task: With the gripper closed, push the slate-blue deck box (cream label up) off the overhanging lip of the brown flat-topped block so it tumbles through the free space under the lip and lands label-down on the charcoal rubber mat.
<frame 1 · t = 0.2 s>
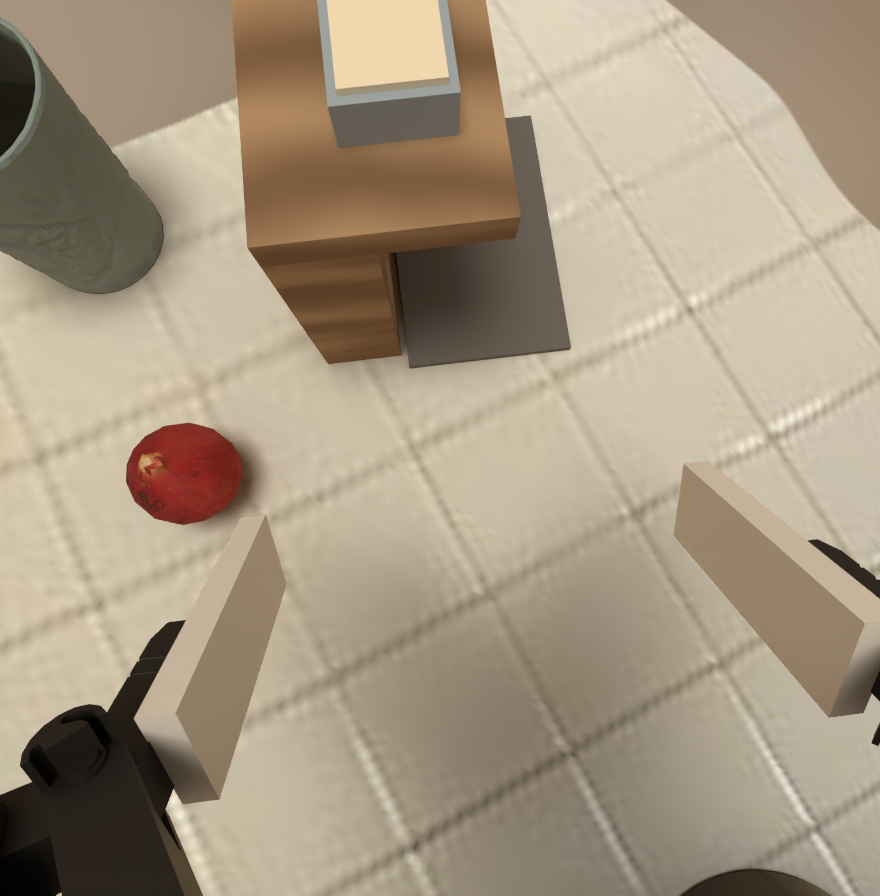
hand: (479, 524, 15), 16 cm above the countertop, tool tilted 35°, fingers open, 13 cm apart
mat: (472, 238, 35), on the countertop
deck box: (388, 58, 21), point 14 cm above the countertop, touching brown flat-topped block
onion: (217, 479, 32), on the countertop
grey-green tapered bin: (107, 243, 35), on the countertop
brown flat-topped block: (395, 247, 35), on the countertop
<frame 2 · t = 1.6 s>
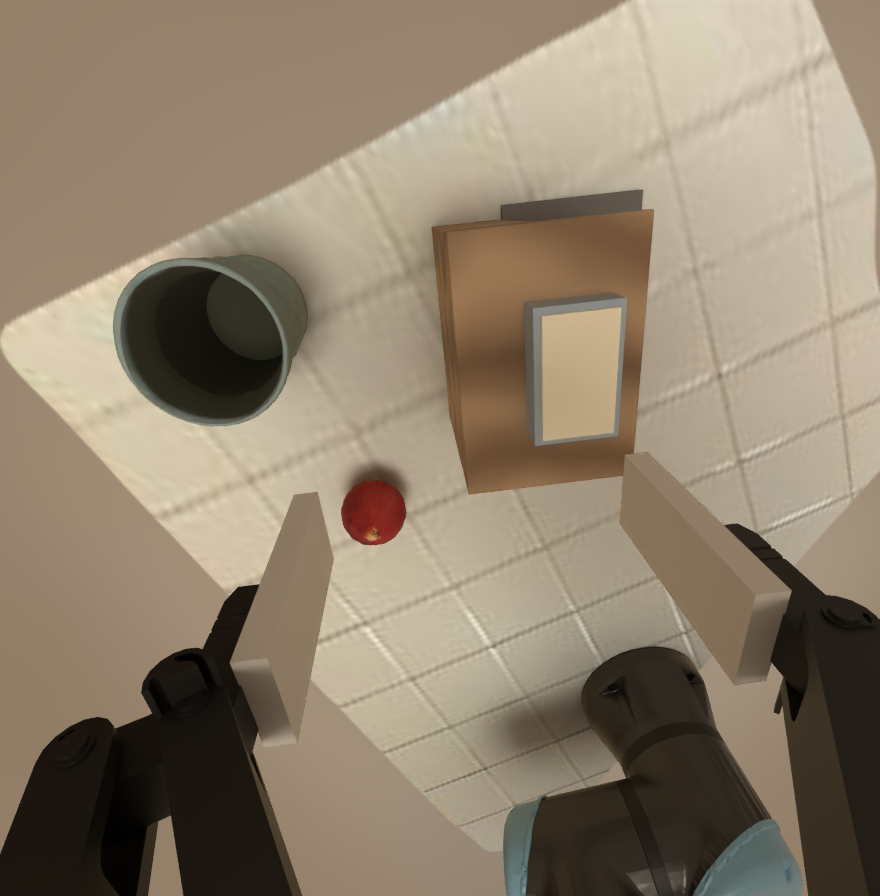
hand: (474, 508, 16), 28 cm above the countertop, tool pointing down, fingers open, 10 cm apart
mat: (569, 315, 42), on the countertop
deck box: (567, 366, 29), point 14 cm above the countertop, touching brown flat-topped block
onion: (375, 490, 48), on the countertop
grey-green tapered bin: (257, 313, 40), on the countertop
brown flat-topped block: (505, 322, 42), on the countertop
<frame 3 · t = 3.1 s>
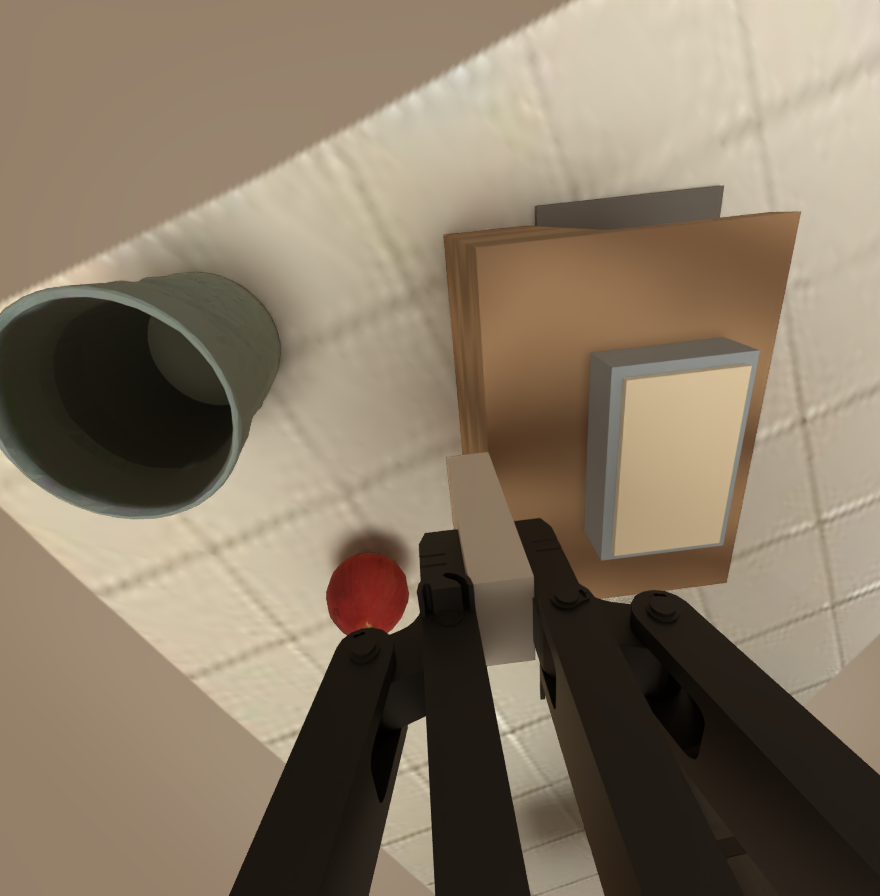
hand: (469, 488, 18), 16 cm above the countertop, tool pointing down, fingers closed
mat: (618, 347, 32), on the countertop
deck box: (648, 442, 20), point 14 cm above the countertop, touching brown flat-topped block
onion: (370, 559, 39), on the countertop
grey-green tapered bin: (215, 346, 31), on the countertop
brown flat-topped block: (537, 356, 32), on the countertop
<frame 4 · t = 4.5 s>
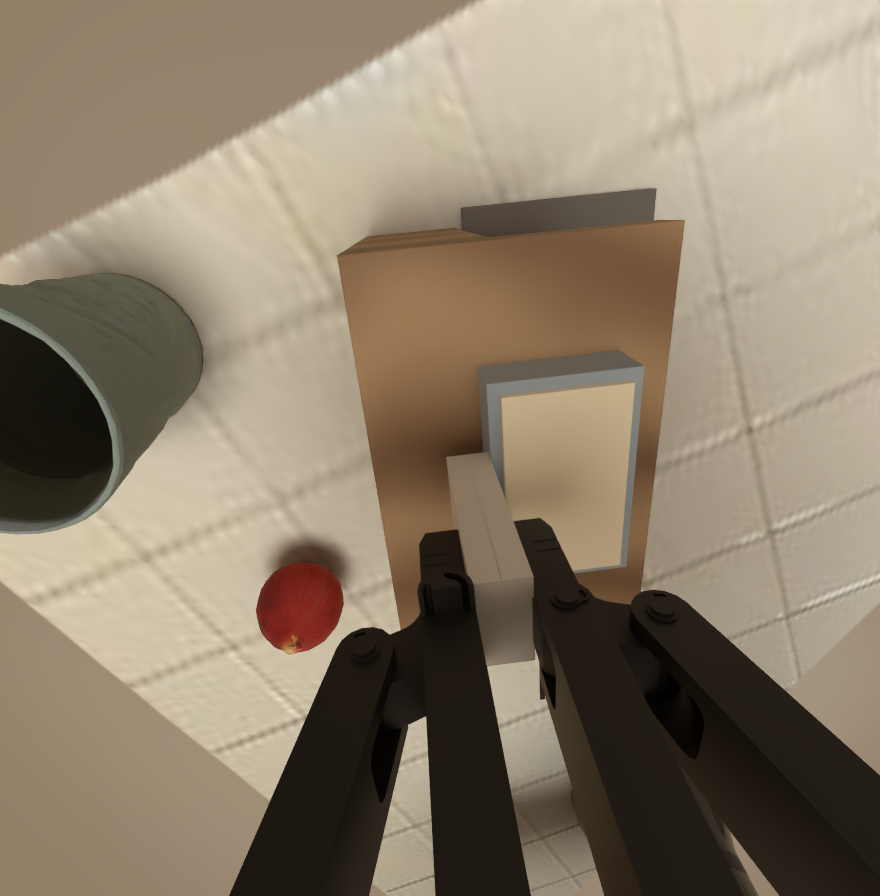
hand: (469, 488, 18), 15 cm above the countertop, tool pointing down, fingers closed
mat: (555, 353, 31), on the countertop
deck box: (548, 459, 19), point 14 cm above the countertop, touching gripper, brown flat-topped block
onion: (310, 568, 38), on the countertop
grey-green tapered bin: (134, 350, 30), on the countertop
brown flat-topped block: (471, 363, 31), on the countertop
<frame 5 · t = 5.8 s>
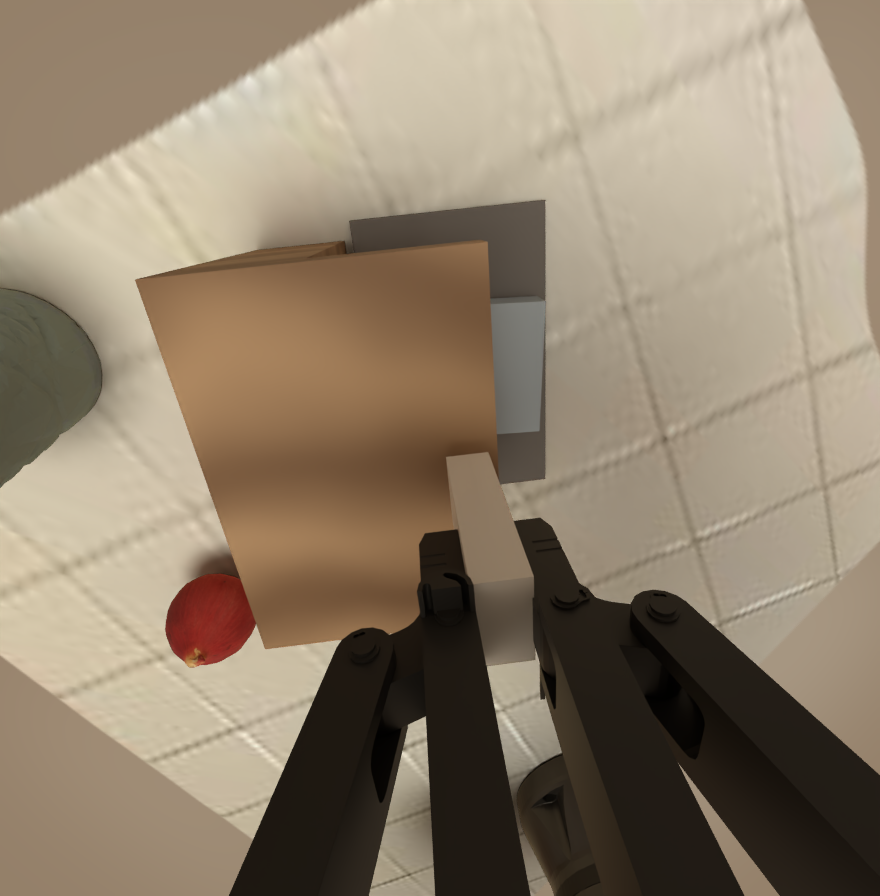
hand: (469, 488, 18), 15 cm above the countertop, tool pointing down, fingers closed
mat: (459, 364, 31), on the countertop
deck box: (501, 372, 29), point 3 cm above the countertop, tilted 180°, touching mat
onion: (230, 579, 38), on the countertop
grey-green tapered bin: (32, 363, 30), on the countertop
brown flat-topped block: (374, 374, 31), on the countertop
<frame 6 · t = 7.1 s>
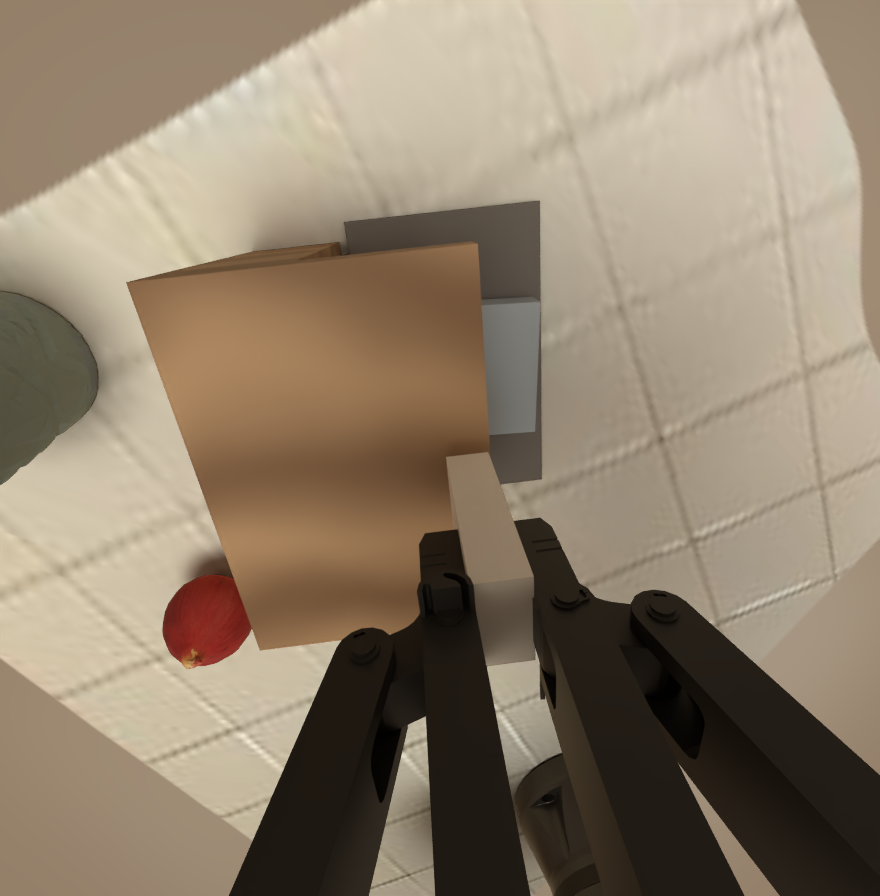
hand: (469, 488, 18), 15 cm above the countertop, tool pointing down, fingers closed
mat: (455, 365, 31), on the countertop
deck box: (496, 373, 29), point 3 cm above the countertop, tilted 180°, touching mat
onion: (228, 580, 38), on the countertop
grey-green tapered bin: (29, 366, 30), on the countertop
brown flat-topped block: (370, 375, 31), on the countertop
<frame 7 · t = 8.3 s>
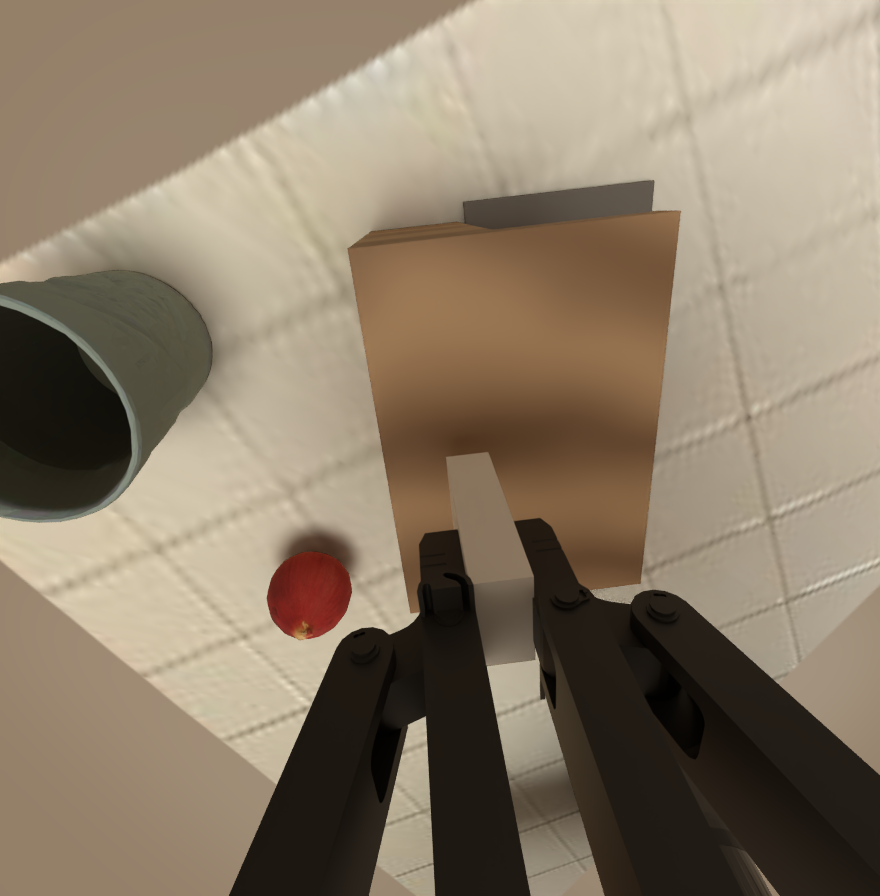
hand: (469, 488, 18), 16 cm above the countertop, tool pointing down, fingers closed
mat: (556, 344, 32), on the countertop
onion: (318, 558, 39), on the countertop
grey-green tapered bin: (145, 345, 30), on the countertop
brown flat-topped block: (474, 354, 32), on the countertop
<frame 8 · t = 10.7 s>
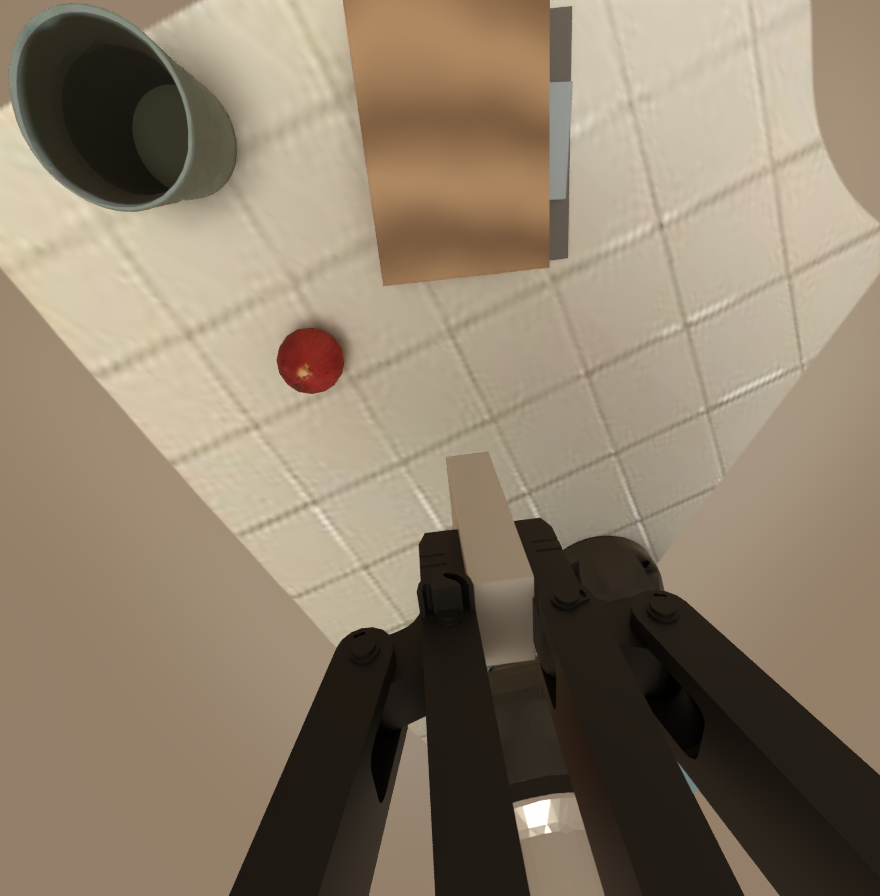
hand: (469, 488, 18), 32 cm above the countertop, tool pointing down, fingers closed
mat: (504, 151, 41), on the countertop
deck box: (538, 144, 39), point 3 cm above the countertop, tilted 180°, touching mat
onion: (317, 350, 47), on the countertop
grey-green tapered bin: (185, 142, 39), on the countertop
brown flat-topped block: (439, 158, 41), on the countertop
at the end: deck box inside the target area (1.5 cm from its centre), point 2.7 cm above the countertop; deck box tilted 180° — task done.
